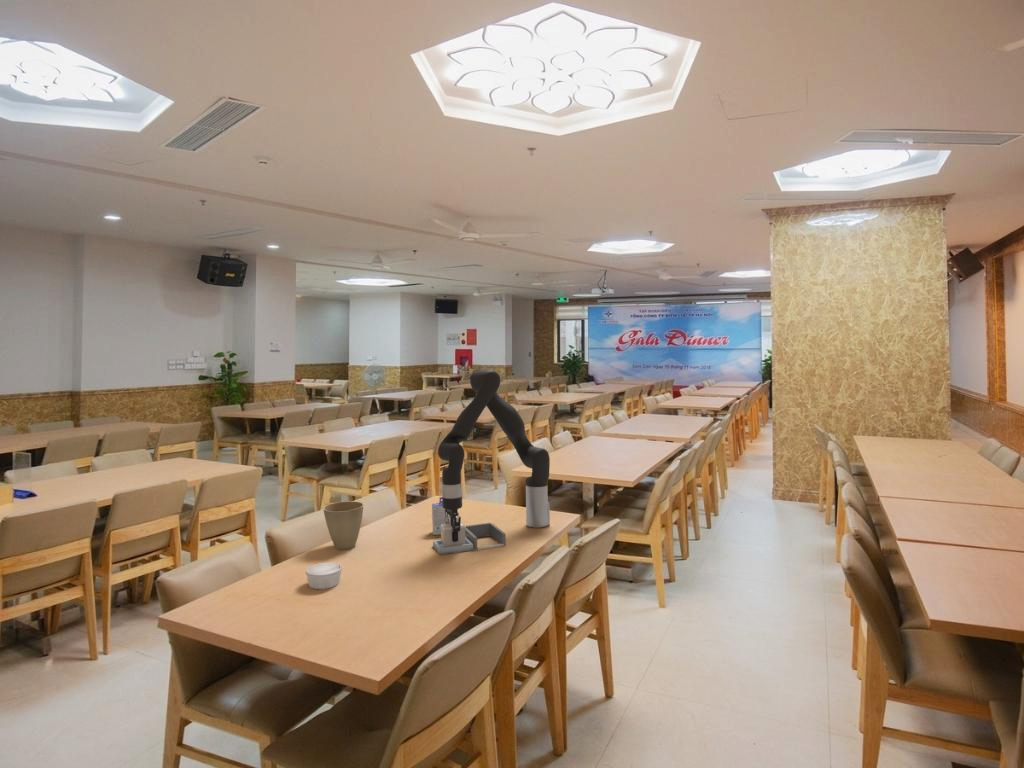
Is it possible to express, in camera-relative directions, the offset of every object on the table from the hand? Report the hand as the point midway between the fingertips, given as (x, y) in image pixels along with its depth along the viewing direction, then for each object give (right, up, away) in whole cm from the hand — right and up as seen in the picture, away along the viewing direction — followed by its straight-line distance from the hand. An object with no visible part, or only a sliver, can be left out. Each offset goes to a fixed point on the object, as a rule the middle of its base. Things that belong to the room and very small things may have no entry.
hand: (453, 539), depth 223 cm
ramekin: (-39, -6, -32) cm, 51 cm away
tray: (0, -3, 0) cm, 3 cm away
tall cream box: (0, -2, 0) cm, 2 cm away
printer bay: (+12, -3, +6) cm, 14 cm away
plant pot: (-42, -4, +4) cm, 43 cm away
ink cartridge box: (-5, -3, +20) cm, 20 cm away
